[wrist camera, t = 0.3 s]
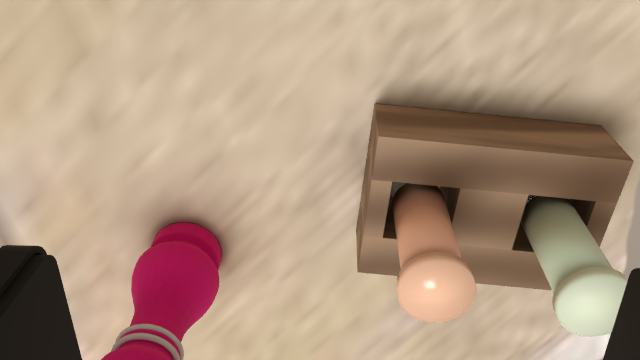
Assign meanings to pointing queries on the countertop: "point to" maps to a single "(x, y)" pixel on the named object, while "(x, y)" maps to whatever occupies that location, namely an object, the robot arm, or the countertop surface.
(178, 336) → the pepper mill
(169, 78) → the countertop surface
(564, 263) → the green plug
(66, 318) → the robot arm
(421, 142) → the socket block
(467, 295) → the peach peg
